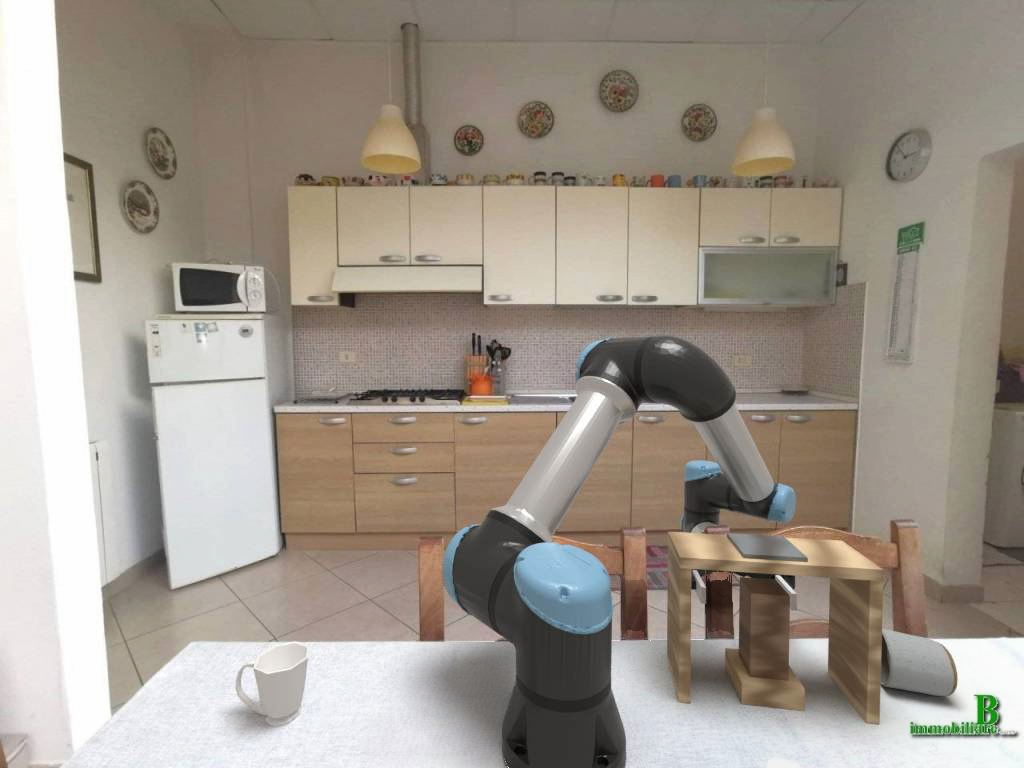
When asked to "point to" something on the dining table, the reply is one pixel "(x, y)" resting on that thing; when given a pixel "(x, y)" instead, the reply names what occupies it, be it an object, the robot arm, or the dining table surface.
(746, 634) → the walnut block
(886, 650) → the ceramic mug
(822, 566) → the wooden side table
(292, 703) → the cup
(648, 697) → the dining table surface
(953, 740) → the dining table surface
